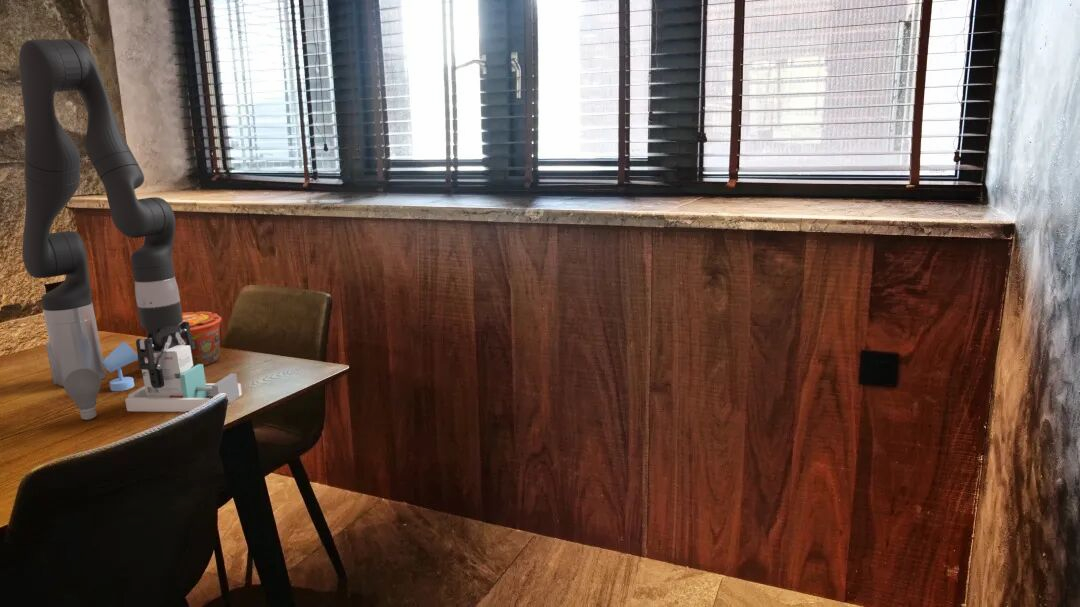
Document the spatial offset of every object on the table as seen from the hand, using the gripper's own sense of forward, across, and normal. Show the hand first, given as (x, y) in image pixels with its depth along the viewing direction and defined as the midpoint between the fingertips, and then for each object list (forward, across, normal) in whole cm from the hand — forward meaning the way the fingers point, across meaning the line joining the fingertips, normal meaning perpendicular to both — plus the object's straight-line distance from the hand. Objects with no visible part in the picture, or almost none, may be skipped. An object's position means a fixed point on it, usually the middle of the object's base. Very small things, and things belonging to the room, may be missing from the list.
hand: (171, 379), depth 146 cm
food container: (+5, +26, +12) cm, 29 cm away
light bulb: (+5, -8, +12) cm, 16 cm away
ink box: (+5, 0, 0) cm, 5 cm away
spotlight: (+5, +9, +17) cm, 20 cm away
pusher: (+5, 0, -7) cm, 8 cm away
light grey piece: (+5, 0, -2) cm, 5 cm away
